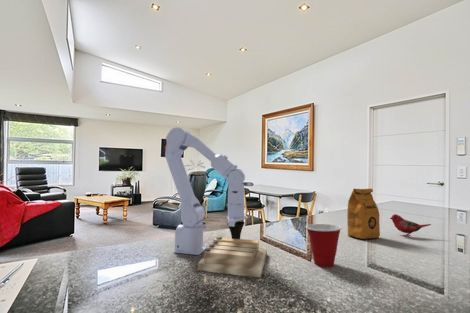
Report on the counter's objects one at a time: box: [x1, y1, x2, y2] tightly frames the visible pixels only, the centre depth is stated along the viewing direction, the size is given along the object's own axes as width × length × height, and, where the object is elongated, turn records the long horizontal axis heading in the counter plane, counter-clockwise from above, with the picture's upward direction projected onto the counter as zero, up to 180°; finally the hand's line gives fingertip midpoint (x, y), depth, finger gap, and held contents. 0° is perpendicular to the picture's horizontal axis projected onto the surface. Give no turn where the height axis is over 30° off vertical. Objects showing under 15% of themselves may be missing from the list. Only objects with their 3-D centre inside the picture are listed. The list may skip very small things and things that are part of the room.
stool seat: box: [197, 240, 268, 278], centre depth 78 cm, size 18×19×5 cm
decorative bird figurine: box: [389, 213, 432, 237], centre depth 114 cm, size 3×18×10 cm, turn 82°
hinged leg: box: [213, 236, 260, 252], centre depth 84 cm, size 15×3×3 cm, turn 79°
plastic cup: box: [305, 223, 342, 268], centre depth 78 cm, size 11×11×12 cm
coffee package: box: [346, 187, 381, 240], centre depth 112 cm, size 10×12×22 cm
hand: (235, 243), depth 86 cm, fingers closed, pressing on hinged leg
